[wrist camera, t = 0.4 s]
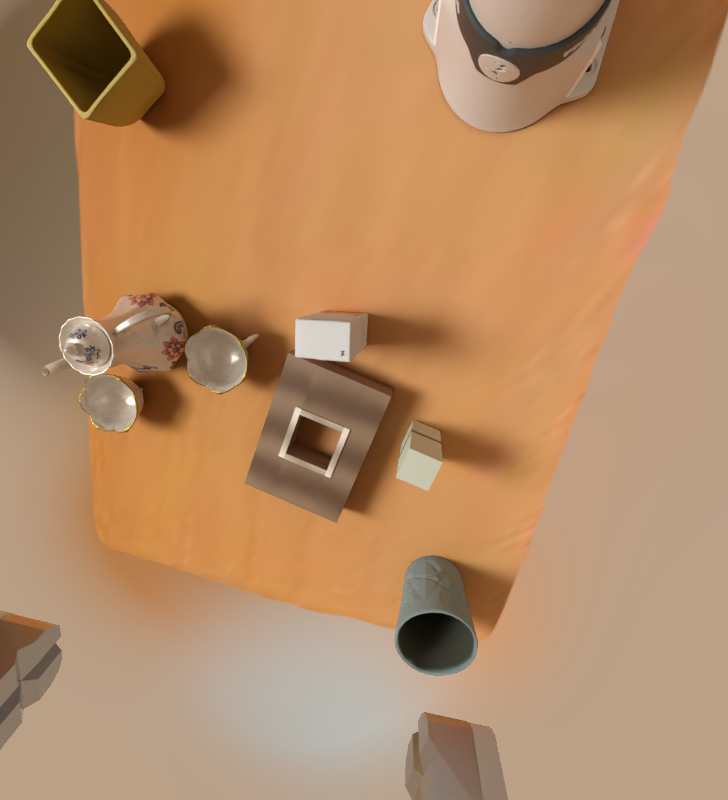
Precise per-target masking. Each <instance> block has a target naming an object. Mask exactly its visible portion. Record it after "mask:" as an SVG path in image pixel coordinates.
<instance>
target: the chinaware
mask: <svg viewBox="0 0 728 800" xmlns="http://www.w3.org/2000/svg"><path fill="white" fill-rule="evenodd" d="M258 337H259V335H258V334H254V335H251V336H249V337H248V338H247V339H245V340H243V342H242V341H241V340H240V339H239V338H237V337H236V336H235V335H233V334H232V333H230V332H228V331H227V330H225V329H223V328H220V327H218V326H215V325H208V326H206V327H203V328H202V329H201V330H200V331H199V333H198V332H197V333H195V334H194V335H192V336H190V337H189V332H188V327H187V324H186V321H185V319H184V317H183V316H182V314H181V313H180V312H179V311H178V310H177V309H176V308H175V307H174V306H172V305H171V304H169V303H167V302H165V301H164V300H163V299H162V298H161V297H160V296H158V295H157V294H155V293H148V294H143V295H125V296H122V297H121V298H120V300H119V301H118V303H117V304H116V306H115V308H114V310H113V311H112V312H111V313H110V314H108V315H107V316H105V317H103V318H101V319H96V320H93V319H90V318H87V317H79V316H78V317H75V318H72V319H69V320H68V321H67V322H66V323H65V324H64V325H63V326H62V327H61V332H60V335H59V341H60V350H61V351H62V353H63V355H64V358H63V359H61V360H58V361H56V362H53V363H51V364H48V365H46V366H45V367H43V368H42V369H41V371H42V374H43V375H45V376H48V375H52V374H54V373H57V372H60V371H63V370H70V369H75V370H77V371H79V372H81V373H82V374H85V375H89V376H88V378H87V379H86V381H85V387H84V389H83V390H82V392H81V393H80V397H79V403H80V405H81V407H82V409H83V410H84V411H86V412H87V413H88V414H91V415H90V418H91V422H92V424H93V425H94V426H95V427H96V428H97V429H99V430H103V431H114V430H115V431H116V432H119V433H122V432H128V431H129V430H130V428H131V427H132V426H133V424H134V422H135V421H136V418H137V417H138V415H139V414H140V412H141V411H142V408H143V401H144V399H143V392H142V390H143V388H140V387H138V386H137V385H136V384H135V383H134V382H132V381H131V380H129V379H127V378H124V377H120V376H115V375H111V374H102V373H104V372H105V371H106V370H107V369H108V368H110V367H114V366H116V365H119V364H125V365H128V366H129V367H131V368H133V369H134V370H136V371H138V372H150V371H170V370H171V369H173V367H174V366H175V364H176V362H177V360H178V359H179V357H180V356H181V355H182V353H183V352H184V353H185V355H186V358H187V359H189V360H188V361H187V372H188V374H189V377H190V378H191V379H192V380H193V381H194V382H196V383H197V384H200V385H203V386H206V385H207V386H206V387H207V388H208V389H209V390H210V391H211V392H214V393H217V394H223V393H226V392H228V391H230V390H231V389H233V388H234V387H235V386H238V385H240V384H241V383H242V382H243V381H244V380H245V379H246V378H247V371H248V353H247V350H246V348H247V347H248V346H249V344H250V343H252V342H253V341H254V340H256V339H257V338H258Z"/></svg>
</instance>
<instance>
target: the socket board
mask: <svg viewBox="0 0 728 800" xmlns="http://www.w3.org/2000/svg"><path fill="white" fill-rule="evenodd" d="M393 390H394V388H392V387H390V386H387V385H385V384H383V383H380V382H378V381H375V380H373V379H371V378H368V377H366V376H364V375H361V374H359V373H356V372H354V371H352V370H349V369H347V368H344V367H342V366H340V365H337V364H335V363H333V362H330V361H328V360H317V359H309V358H297V357H295V350H293V351H291V352H289V353H288V355H287V358H286V361H285V364H284V367H283V370H282V373H281V376H280V379H279V382H278V385H277V388H276V391H275V394H274V397H273V400H272V403H271V406H270V409H269V412H268V415H267V418H266V421H265V424H264V427H263V430H262V433H261V436H260V439H259V442H258V445H257V448H256V451H255V454H254V457H253V460H252V463H251V466H250V469H249V472H248V475H247V478H246V481H245V484H247V485H250V486H252V487H254V488H257V489H259V490H261V491H264V492H266V493H268V494H271V495H273V496H275V497H278V498H280V499H282V500H285V501H287V502H289V503H292V504H294V505H296V506H298V507H301V508H303V509H305V510H308V511H310V512H312V513H315V514H317V515H319V516H322V517H324V518H326V519H329V520H331V521H333V522H336V523H337V521H338V519H339V516H340V514H341V512H342V509H343V507H344V505H345V503H346V500H347V498H348V496H349V493H350V491H351V489H352V486H353V484H354V482H355V480H356V477H357V475H358V473H359V470H360V468H361V466H362V463H363V461H364V459H365V457H366V454H367V452H368V450H369V447H370V445H371V443H372V440H373V438H374V436H375V434H376V431H377V429H378V427H379V424H380V422H381V420H382V417H383V415H384V413H385V411H386V408H387V406H388V404H389V401H390V399H391V397H392V393H393ZM304 417H306V418H309V419H311V420H313V421H316V422H318V423H321V424H323V425H325V426H328V427H330V428H332V429H335V430H337V431H339V432H342V434H341V437H340V439H339V442H338V444H337V447H336V449H335V452H334V454H333V456H332V457H330V456H328V455H325V454H323V453H321V452H318V451H316V450H314V449H311V448H309V447H307V446H304V445H302V444H300V443H297V442H295V440H296V437H297V435H298V432H299V429H300V426H301V424H302V421H303V418H304Z"/></svg>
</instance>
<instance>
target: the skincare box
mask: <svg viewBox="0 0 728 800" xmlns="http://www.w3.org/2000/svg"><path fill="white" fill-rule="evenodd" d="M367 329H368V313H350V312H337V311H325V310H324V311H321V312H318V313H314V314H311V315H308V316H304V317H301V318H298V319H296V334H295V357H297V358H309V359H317V360H329V361H342V362H350V361H351V360H352V359H353V358H354V357H355V356H356V355H357V354H358V353H359V352H360V351H361V350H362V349H363V348H364V347H365V346H366V345H367Z"/></svg>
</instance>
